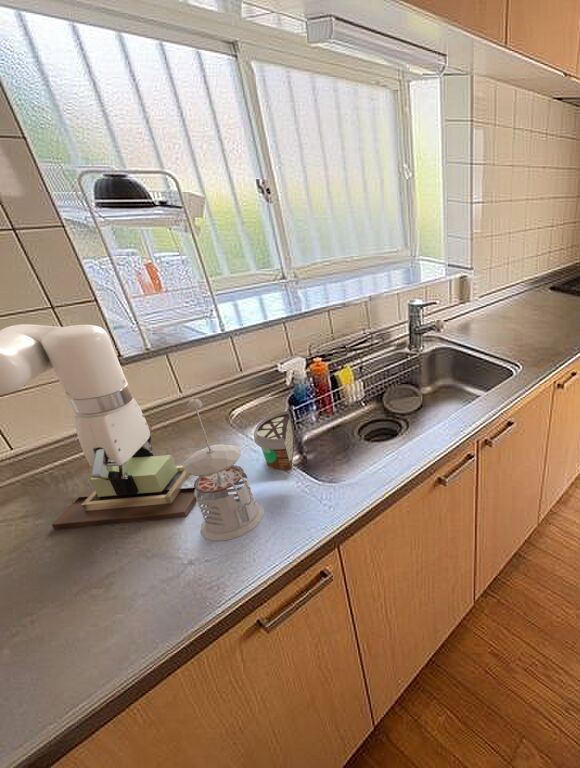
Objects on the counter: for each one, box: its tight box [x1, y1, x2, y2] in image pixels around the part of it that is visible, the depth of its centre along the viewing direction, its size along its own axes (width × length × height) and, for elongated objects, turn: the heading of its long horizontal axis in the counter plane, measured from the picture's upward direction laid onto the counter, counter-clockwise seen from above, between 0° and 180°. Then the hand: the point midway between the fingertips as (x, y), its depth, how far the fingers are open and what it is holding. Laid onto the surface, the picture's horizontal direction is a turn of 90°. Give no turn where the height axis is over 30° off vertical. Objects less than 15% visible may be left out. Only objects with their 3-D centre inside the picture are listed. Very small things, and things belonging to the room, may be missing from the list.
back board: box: [51, 464, 197, 530], centre depth 80 cm, size 20×15×3 cm
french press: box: [183, 398, 265, 542], centre depth 70 cm, size 10×12×25 cm
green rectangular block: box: [89, 454, 178, 497], centre depth 78 cm, size 10×6×4 cm, turn 102°
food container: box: [253, 409, 296, 471], centre depth 88 cm, size 12×6×10 cm, turn 21°
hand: (138, 481), depth 79 cm, fingers closed on green rectangular block, 6 cm apart
